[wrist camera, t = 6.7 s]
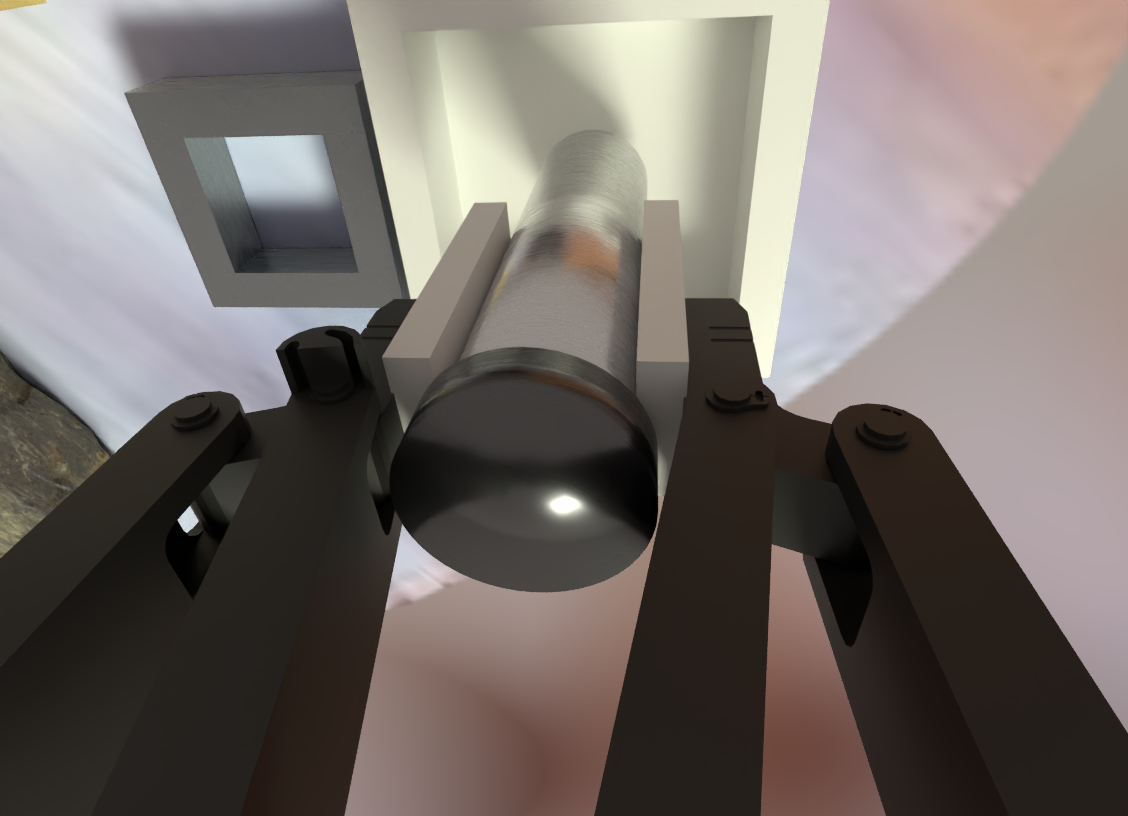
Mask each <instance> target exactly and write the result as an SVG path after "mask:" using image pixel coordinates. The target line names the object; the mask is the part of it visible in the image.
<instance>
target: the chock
mask: <svg viewBox="0 0 1128 816" xmlns="http://www.w3.org/2000/svg"><path fill="white" fill-rule="evenodd" d="M43 3H46V1H45V0H0V11H2V10H7V9H13V8H19V7H25V6H31V5H37V4H43Z"/></svg>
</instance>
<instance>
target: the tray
mask: <svg viewBox="0 0 1128 816" xmlns="http://www.w3.org/2000/svg"><path fill="white" fill-rule="evenodd" d="M346 1H347V6H348V10H349V15H350V20H351V24H352V29H353V33H354V38H355V43H356V47H357V52H358V57H359V61H360V66H361V71H362V75H363V80H364V84H365V89H366V94H367V98H368V103H369V108H370V112H371V117H372V121H373V126H374V131H375V135H376V140H377V145H378V149H379V154H380V159H381V163H382V168H383V172H384V177H385V182H386V186H387V191H388V196H389V200H390V205H391V210H392V214H393V219H394V223H395V228H396V233H397V237H398V242H399V247H400V251H401V256H402V261H403V265H404V270H405V274H406V279H407V284H408V288H409V293H410V298H411V299H417V298H418V296H419V295H420V293H421V291H422V290H423V288H424V286H425V285H426V283H427V281H428V280H429V278H430V276H431V275H432V273H433V271H434V270H435V268H436V266H437V265H438V263H439V261H440V260H441V258H442V256H443V255H444V253H445V251H446V250H447V248H448V246H449V245H450V243H451V241H452V240H453V238H454V236H455V234H456V233H457V231H458V229H459V228H460V226H461V224H462V223H463V221H464V219H465V218H466V216H467V214H468V213H469V211H470V209H471V208H472V206H473V204H474V203H491V202H507V210H508V219H509V228H510V237H511V238H512V236H513V234H514V231H515V229H516V227H517V224H518V222H519V220H520V217H521V215H522V213H523V210H524V208H525V206H526V203H527V201H528V199H529V196H530V194H531V192H532V189H533V187H534V185H535V182H536V180H537V178H538V175H539V173H540V171H541V168H542V166H543V164H544V161H545V159H546V157H547V156H548V154H549V152H550V151H551V150H552V148H553V147H554V146H555V145H556V144H557V143H558V142H560V141H561V140H562V139H564V138H565V137H567V136H569V135H571V134H573V133H576V132H579V131H583V130H603V131H607V132H611V133H614V134H616V135H618V136H620V137H621V138H623V139H624V140H626V141H627V142H628V143H629V144H631V145H632V146H633V148H634V149H635V150H636V151H637V152H638V154H639V156H640V157H641V159H642V161H643V163H644V166H645V169H646V173H647V181H648V190H647V200H678V202H679V217H680V232H681V248H682V263H683V278H684V293H685V298H734V299H735V300H736V301H737V302H738V303H739V304H740V305H741V306H742V307H743V308H744V309H745V310H746V311H747V312H748V316H749V321H750V326H751V330H752V335H753V342H754V344H755V349H756V354H757V358H758V363H759V368H760V372H761V377H762V378H770V372H771V366H772V360H773V353H774V347H775V341H776V335H777V328H778V322H779V316H780V309H781V303H782V297H783V291H784V284H785V278H786V272H787V266H788V259H789V253H790V247H791V240H792V234H793V228H794V222H795V215H796V209H797V203H798V197H799V190H800V184H801V178H802V171H803V165H804V159H805V153H806V146H807V140H808V134H809V127H810V121H811V115H812V109H813V102H814V96H815V90H816V84H817V77H818V71H819V65H820V58H821V52H822V46H823V40H824V33H825V27H826V21H827V15H828V8H829V2H830V0H346Z"/></svg>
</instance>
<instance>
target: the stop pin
mask: <svg viewBox="0 0 1128 816" xmlns="http://www.w3.org/2000/svg"><path fill="white" fill-rule="evenodd" d="M647 190H648V181H647V173H646V169H645V166H644V163H643V161H642V159H641V157H640V156H639V154H638V152H637V151H636V150H635V149H634V148H633V146H632V145H631V144H629V143H628V142H627V141H626V140H624V139H623V138H621V137H620V136H618V135H616V134H614V133H611V132H607V131H603V130H583V131H579V132H576V133H573V134H571V135H569V136H567V137H565V138H564V139H562V140H561V141H560V142H558V143H557V144H556V145H555V146H554V147H553V148H552V150H551V151H550V152H549V154H548V156H547V157H546V159H545V161H544V164H543V166H542V168H541V171H540V173H539V175H538V178H537V180H536V182H535V185H534V187H533V189H532V192H531V194H530V196H529V199H528V201H527V203H526V206H525V208H524V210H523V213H522V215H521V217H520V220H519V222H518V224H517V227H516V229H515V231H514V234H513V236H512V238H511V241H510V243H509V245H508V248H507V250H506V252H505V255H504V257H503V259H502V262H501V264H500V266H499V269H498V271H497V273H496V276H495V278H494V280H493V283H492V285H491V287H490V290H489V292H488V294H487V297H486V299H485V301H484V304H483V306H482V308H481V311H480V313H479V315H478V318H477V320H476V322H475V325H474V327H473V329H472V332H471V334H470V336H469V339H468V341H467V343H466V346H465V348H464V350H463V353H462V355H461V357H460V360H459V361H458V362H456V363H455V364H453V365H452V366H450V367H448V368H447V369H445V370H444V371H443V372H442V373H441V374H440V375H439V376H437V377H436V378H435V379H434V380H433V382H432V383H431V384H430V385H429V386H428V388H427V389H426V391H425V392H424V394H423V396H422V397H421V399H420V401H419V403H418V405H417V408H416V410H415V412H414V414H413V416H412V418H411V420H410V422H409V424H408V427H407V429H406V431H405V433H404V435H403V437H402V439H401V441H400V444H399V446H398V448H397V450H396V452H395V455H394V457H393V460H392V463H391V468H390V474H389V489H390V494H391V499H392V503H393V505H394V508H395V511H396V513H397V515H398V517H399V519H400V520H401V522H402V524H403V526H404V527H405V528H406V530H407V531H408V532H409V534H410V535H411V536H412V537H413V538H414V540H415V541H416V542H417V543H418V544H419V545H420V546H421V547H422V548H423V549H425V550H426V551H427V552H428V553H429V554H431V555H432V556H433V557H434V558H436V559H437V560H439V561H440V562H442V563H443V564H445V565H446V566H448V567H450V568H452V569H453V570H455V571H457V572H459V573H461V574H463V575H466V576H468V577H470V578H472V579H475V580H478V581H481V582H484V583H487V584H490V585H494V586H497V587H502V588H506V589H512V590H517V591H527V592H559V591H568V590H574V589H580V588H584V587H587V586H591V585H594V584H597V583H600V582H602V581H605V580H607V579H609V578H611V577H613V576H615V575H617V574H619V573H620V572H621V571H623V570H624V569H626V568H627V567H629V566H630V565H631V564H632V563H633V562H634V561H635V560H636V559H638V557H639V556H640V555H641V554H642V553H643V551H644V550H645V549H646V548H647V546H648V544H649V542H650V540H651V538H652V536H653V534H654V531H655V528H656V523H657V515H658V444H657V438H656V434H655V430H654V427H653V425H652V422H651V420H650V417H649V415H648V414H647V412H646V410H645V409H644V407H643V405H642V404H641V403H640V401H639V400H638V399H637V398H636V366H637V341H638V320H639V299H640V278H641V256H642V235H643V214H644V200H647Z"/></svg>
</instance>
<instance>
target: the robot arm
mask: <svg viewBox="0 0 1128 816" xmlns="http://www.w3.org/2000/svg"><path fill="white" fill-rule="evenodd" d="M510 241H511V237H510V228H509V219H508V210H507V202H491V203H474V204H473V206H472V208H471V209H470V211H469V213H468V214H467V216H466V218H465V219H464V221H463V223H462V224H461V226H460V228H459V229H458V231H457V233H456V234H455V236H454V238H453V240H452V241H451V243H450V245H449V246H448V248H447V250H446V251H445V253H444V255H443V256H442V258H441V260H440V261H439V263H438V265H437V266H436V268H435V270H434V271H433V273H432V275H431V276H430V278H429V280H428V281H427V283H426V285H425V286H424V288H423V290H422V291H421V293H420V295H419V296H418V298H417V299H394V300H392V301H391V302H389V303H388V304H386V305H385V306H383V307H382V308H380V309H379V310H377V311H376V312H375V314H374V315H373V317H372V318H371V320H370V321H369V323H368V324H367V328H365V329H364V330H363V332H362V333H361V335H360V334H359V333H358V332H357V331H356V330H354V329H351V328H348V327H345V326H324V327H318V328H312V329H309V330H306V331H303V332H300V333H298V334H295V335H294V336H292V337H290V338H289V339H287V340H285V341H284V342H283V343H282V344H281V345H280V346H279V347H278V348H277V349H276V353H277V355H278V358H279V361H280V363H281V366H282V369H283V371H284V374H285V377H286V380H287V382H288V385H289V388H290V390H291V393H292V394H291V397H290V399H289V401H288V403H287V405H286V406H283V407H279V408H273V409H268V410H262V411H256V412H251V413H245V412H244V410H243V408H242V405H241V403H240V401H239V400H238V399H237V398H236V397H235V396H234V395H233V394H230V393H226V392H221V391H217V392H202V393H197V394H193V395H189V396H186V397H185V398H183V399H181V400H179V401H177V402H174V403H172V404H171V405H169V406H168V407H167V408H165V409H164V410H162V411H161V412H159V413H158V414H157V415H156V416H155V417H154V418H153V419H152V420H151V421H150V422H148V423H147V424H146V425H145V426H144V427H143V428H142V429H141V430H140V431H139V432H138V433H136V434H135V435H134V436H133V437H132V438H131V439H130V440H129V441H128V442H127V443H126V444H124V445H123V446H122V447H121V448H120V449H119V450H118V451H117V452H116V453H115V454H114V455H112V456H111V457H110V458H109V459H108V460H107V461H106V462H105V463H104V464H103V465H102V466H100V467H99V468H98V469H97V470H96V471H95V472H94V473H93V474H92V475H91V476H90V477H88V478H87V479H86V480H85V481H84V482H83V483H82V484H81V485H80V486H79V487H77V488H76V489H75V490H74V491H73V492H72V493H71V494H70V495H69V496H68V497H67V498H65V499H64V500H63V501H62V502H61V503H60V504H59V505H58V506H57V507H56V508H55V509H53V510H52V511H51V512H50V513H49V514H48V515H47V516H46V517H45V518H44V519H43V520H41V521H40V522H39V523H38V524H37V525H36V526H35V527H34V528H33V529H32V530H31V531H29V532H28V533H27V534H26V535H25V536H24V537H23V538H22V539H21V540H20V541H19V542H17V543H16V544H15V545H14V546H13V547H12V548H11V549H10V550H9V551H8V552H7V553H5V554H4V555H3V556H2V557H1V558H0V816H344V815H345V810H346V804H347V799H348V795H349V790H350V784H351V780H352V774H353V769H354V764H355V759H356V754H357V749H358V744H359V739H360V734H361V729H362V723H363V719H364V714H365V708H366V703H367V698H368V694H369V688H370V683H371V678H372V673H373V668H374V663H375V658H376V653H377V648H378V643H379V638H380V633H381V628H382V622H383V618H384V613H385V608H386V602H387V597H388V592H389V587H390V582H391V577H392V572H393V567H394V562H395V557H396V552H397V547H398V542H399V537H400V532H401V527H402V522H401V520H400V519H399V517H398V515H397V513H396V511H395V508H394V505H393V503H392V499H391V494H390V489H389V474H390V468H391V463H392V460H393V457H394V455H395V452H396V450H397V448H398V446H399V444H400V441H401V439H402V437H403V435H404V433H405V431H406V429H407V427H408V424H409V422H410V420H411V418H412V416H413V414H414V412H415V410H416V408H417V405H418V403H419V401H420V399H421V397H422V396H423V394H424V392H425V391H426V389H427V388H428V386H429V385H430V384H431V383H432V382H433V380H434V379H435V378H436V377H437V376H439V375H440V374H441V373H442V372H443V371H444V370H445V369H447V368H448V367H450V366H452V365H453V364H455V363H456V362H458V361H459V360H460V357H461V355H462V353H463V350H464V348H465V346H466V343H467V341H468V339H469V336H470V334H471V332H472V329H473V327H474V325H475V322H476V320H477V318H478V315H479V313H480V311H481V308H482V306H483V304H484V301H485V299H486V297H487V294H488V292H489V290H490V287H491V285H492V283H493V280H494V278H495V276H496V273H497V271H498V269H499V266H500V264H501V262H502V259H503V257H504V255H505V252H506V250H507V248H508V245H509V243H510ZM636 398H637V399H638V400H639V401H640V403H641V404H642V405H643V407H644V409H645V410H646V412H647V414H648V415H649V417H650V420H651V422H652V425H653V427H654V430H655V434H656V438H657V444H658V496H664V501H663V506H662V510H661V514H660V519H659V524H658V528H657V533H656V537H655V542H654V546H653V551H652V556H651V560H650V564H649V569H648V573H647V578H646V583H645V587H644V592H643V597H642V601H641V606H640V610H639V614H638V619H637V624H636V628H635V633H634V637H633V642H632V647H631V651H630V655H629V660H628V664H627V669H626V674H625V678H624V683H623V687H622V692H621V696H620V701H619V706H618V710H617V715H616V719H615V724H614V728H613V733H612V737H611V742H610V746H609V751H608V755H607V760H606V764H605V769H604V774H603V778H602V783H601V788H600V792H599V797H598V801H597V805H596V810H595V815H594V816H760V814H761V791H762V766H763V742H764V717H765V691H766V669H767V644H768V643H767V642H768V619H769V618H768V617H769V594H770V570H771V546H772V544H773V545H777V546H780V547H784V548H787V549H790V550H794V551H797V552H800V553H803V561H804V564H805V567H806V570H807V573H808V576H809V579H810V582H811V585H812V589H813V591H814V595H815V598H816V601H817V604H818V607H819V610H820V613H821V616H822V619H823V623H824V625H825V629H826V632H827V635H828V638H829V641H830V644H831V647H832V650H833V653H834V656H835V660H836V663H837V666H838V669H839V672H840V675H841V678H842V681H843V684H844V687H845V691H846V693H847V697H848V700H849V703H850V706H851V709H852V712H853V715H854V718H855V721H856V725H857V728H858V731H859V734H860V737H861V740H862V743H863V746H864V749H865V752H866V755H867V758H868V762H869V765H870V768H871V771H872V774H873V777H874V780H875V783H876V786H877V789H878V792H879V796H880V798H881V802H882V805H883V808H884V811H885V814H886V816H1128V733H1127V731H1126V730H1125V728H1124V727H1123V725H1122V724H1121V722H1120V720H1119V719H1118V717H1117V716H1116V714H1115V713H1114V711H1113V710H1112V708H1111V707H1110V705H1109V704H1108V702H1107V700H1106V699H1105V698H1104V696H1103V695H1102V693H1101V691H1100V690H1099V688H1098V686H1097V685H1096V683H1095V682H1094V680H1093V679H1092V677H1091V676H1090V674H1089V673H1088V671H1087V669H1086V668H1085V666H1084V665H1083V663H1082V662H1081V660H1080V659H1079V657H1078V656H1077V654H1076V652H1075V651H1074V649H1073V648H1072V646H1071V645H1070V643H1069V642H1068V640H1067V638H1066V637H1065V635H1064V634H1063V632H1062V631H1061V629H1060V628H1059V626H1058V625H1057V623H1056V621H1055V620H1054V618H1053V617H1052V616H1051V614H1050V612H1049V611H1048V609H1047V608H1046V606H1045V605H1044V603H1043V601H1042V600H1041V598H1040V597H1039V595H1038V594H1037V592H1036V591H1035V589H1034V588H1033V586H1032V584H1031V583H1030V581H1029V580H1028V578H1027V577H1026V575H1025V573H1024V572H1023V570H1022V569H1021V567H1020V566H1019V564H1018V563H1017V561H1016V560H1015V558H1014V557H1013V555H1012V553H1011V552H1010V550H1009V549H1008V547H1007V546H1006V544H1005V543H1004V541H1003V539H1002V538H1001V536H1000V535H999V533H998V532H997V531H996V529H995V527H994V526H993V524H992V522H991V521H990V519H989V518H988V516H987V515H986V513H985V512H984V510H983V509H982V507H981V506H980V504H979V502H978V501H977V499H976V498H975V496H974V495H973V493H972V492H971V490H970V488H969V487H968V485H967V484H966V482H965V481H964V479H963V478H962V476H961V474H960V473H959V471H958V470H957V468H956V467H955V465H954V464H953V462H952V461H951V459H950V458H949V456H948V454H947V453H946V451H945V450H944V448H943V447H942V445H941V444H940V442H939V440H938V439H937V437H936V436H935V434H934V433H933V431H932V430H931V429H930V428H929V427H928V426H927V425H926V424H925V423H924V422H923V421H922V420H921V419H919V418H917V417H915V416H914V415H912V414H910V413H908V412H907V411H904V410H901V409H898V408H894V407H891V406H888V405H880V404H861V405H854V406H849V407H848V408H846V409H844V410H842V411H840V412H838V414H837V415H836V417H835V418H834V420H833V422H832V424H829V423H825V422H821V421H816V420H812V419H808V418H804V417H801V416H797V415H795V414H793V413H790V412H788V411H786V410H784V409H782V408H781V407H780V406H778V405H777V401H776V398H775V395H774V393H773V392H772V391H771V390H770V389H769V388H768V387H767V386H766V385H764V384H763V382H762V377H761V372H760V368H759V363H758V358H757V354H756V349H755V344H754V342H753V335H752V330H751V326H750V321H749V316H748V312H747V311H746V310H745V309H744V308H743V307H742V306H741V305H740V304H739V303H738V302H737V301H736V300H735V299H734V298H685V293H684V278H683V263H682V248H681V232H680V217H679V202H678V200H644V214H643V235H642V256H641V278H640V299H639V320H638V341H637V366H636ZM189 506H191V508H192V510H193V512H194V513H195V515H196V517H197V519H198V521H199V522H198V523H197V524H196V525H195V527H194V528H193V529H191V530H190V531H189V532H188V533H186V532H184V531H183V529H182V527H181V526H180V524H179V522H178V519H179V517H180V516H181V515H182V514H183V513H184V512H185V511H186V509H187V508H188V507H189Z"/></svg>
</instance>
